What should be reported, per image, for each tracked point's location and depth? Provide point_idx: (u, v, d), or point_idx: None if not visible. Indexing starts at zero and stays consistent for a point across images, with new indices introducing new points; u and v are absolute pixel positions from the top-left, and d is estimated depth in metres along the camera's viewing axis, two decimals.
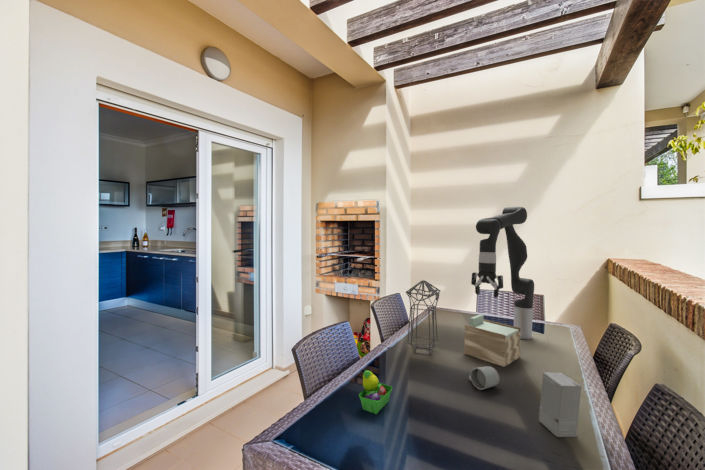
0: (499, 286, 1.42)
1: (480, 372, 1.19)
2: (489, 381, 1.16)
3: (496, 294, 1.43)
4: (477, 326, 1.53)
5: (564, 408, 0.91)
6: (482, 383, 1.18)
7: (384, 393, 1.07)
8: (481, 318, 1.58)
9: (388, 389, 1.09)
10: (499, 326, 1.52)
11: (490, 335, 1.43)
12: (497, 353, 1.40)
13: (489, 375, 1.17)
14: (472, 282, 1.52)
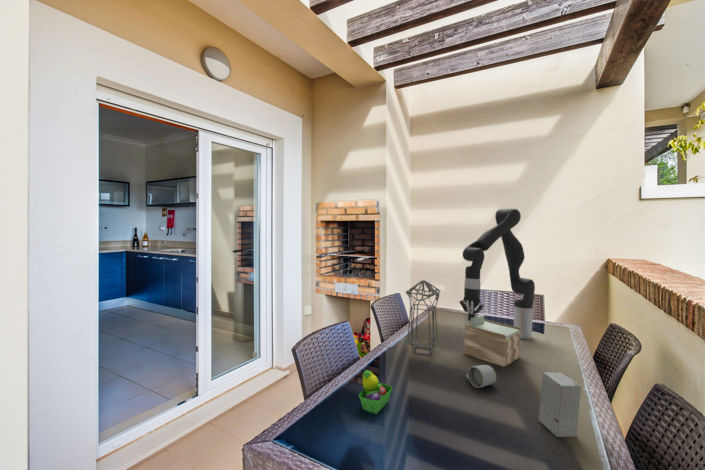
0: (475, 311, 1.56)
1: (477, 370, 1.21)
2: (486, 379, 1.17)
3: None
4: (478, 326, 1.52)
5: (564, 408, 0.91)
6: (479, 381, 1.20)
7: (384, 393, 1.07)
8: (482, 318, 1.58)
9: (388, 389, 1.09)
10: (500, 327, 1.52)
11: (490, 335, 1.43)
12: (497, 353, 1.40)
13: (486, 373, 1.18)
14: (465, 309, 1.60)
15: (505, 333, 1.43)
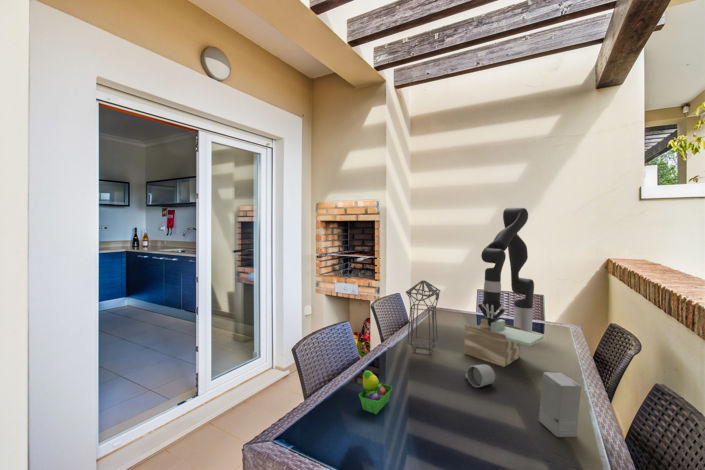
0: (495, 316, 1.48)
1: (476, 370, 1.21)
2: (485, 379, 1.18)
3: None
4: (499, 332, 1.45)
5: (564, 408, 0.91)
6: (478, 381, 1.20)
7: (384, 393, 1.07)
8: (503, 323, 1.50)
9: (388, 389, 1.09)
10: (522, 332, 1.44)
11: (490, 335, 1.43)
12: (497, 353, 1.40)
13: (485, 373, 1.19)
14: (484, 313, 1.52)
15: (529, 339, 1.35)
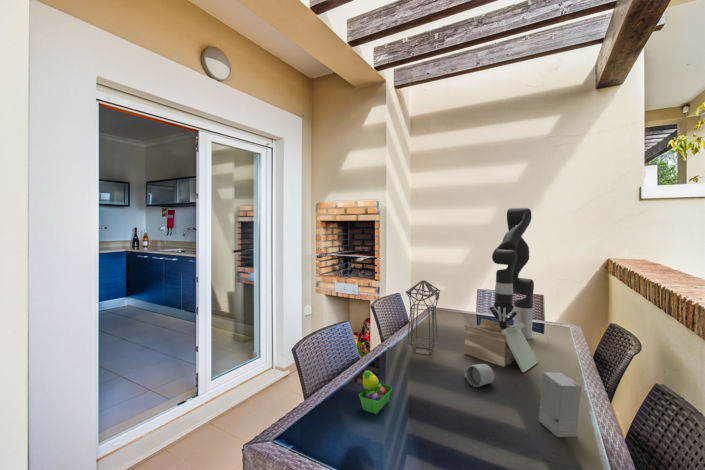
0: (507, 319, 1.44)
1: (475, 369, 1.22)
2: (484, 378, 1.18)
3: (504, 326, 1.45)
4: (511, 335, 1.40)
5: (564, 408, 0.91)
6: (477, 380, 1.21)
7: (384, 393, 1.07)
8: None
9: (388, 389, 1.09)
10: (526, 347, 1.43)
11: (490, 335, 1.43)
12: (497, 353, 1.40)
13: (484, 372, 1.19)
14: (496, 316, 1.48)
15: (526, 364, 1.36)
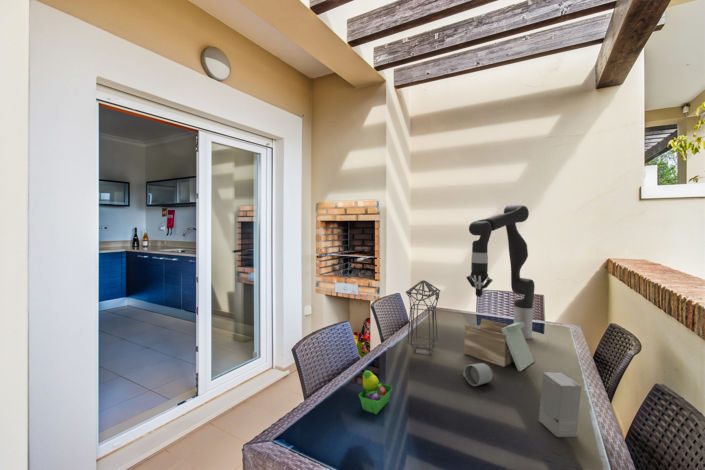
0: (482, 286, 1.53)
1: (474, 369, 1.22)
2: (482, 378, 1.19)
3: (480, 293, 1.54)
4: (510, 333, 1.41)
5: (564, 408, 0.91)
6: (476, 379, 1.21)
7: (384, 393, 1.07)
8: None
9: (388, 389, 1.09)
10: (524, 345, 1.44)
11: (490, 335, 1.43)
12: (497, 353, 1.40)
13: (482, 372, 1.20)
14: (472, 284, 1.56)
15: (523, 363, 1.37)
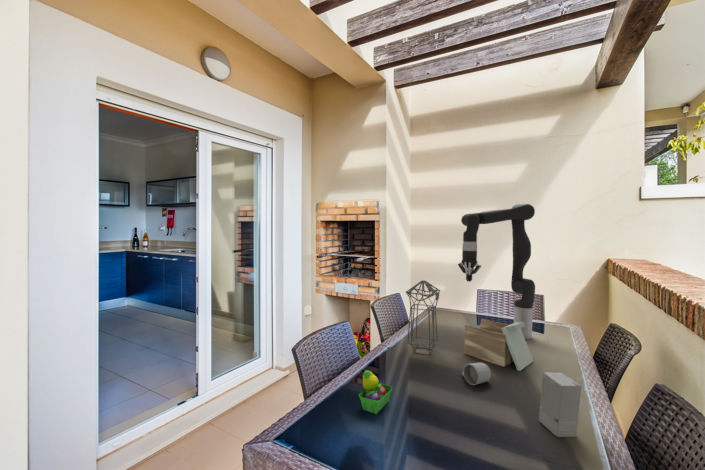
0: (472, 272, 1.69)
1: (472, 368, 1.23)
2: (481, 377, 1.19)
3: (470, 278, 1.71)
4: (510, 333, 1.41)
5: (564, 408, 0.91)
6: (474, 379, 1.22)
7: (384, 393, 1.07)
8: None
9: (388, 389, 1.09)
10: (524, 345, 1.44)
11: (490, 335, 1.43)
12: (497, 353, 1.40)
13: (481, 371, 1.20)
14: (463, 270, 1.73)
15: (522, 363, 1.37)
